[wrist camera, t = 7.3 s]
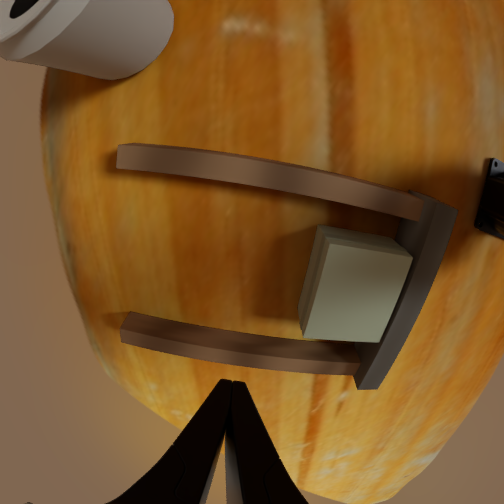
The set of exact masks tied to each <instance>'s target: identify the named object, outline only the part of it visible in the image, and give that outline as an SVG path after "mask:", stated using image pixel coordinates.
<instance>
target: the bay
mask: <svg viewBox="0 0 504 504" xmlns="http://www.w3.org/2000/svg"><path fill="white" fill-rule="evenodd" d="M116 168H119V169H130V170H140V171H150V172H159V173H168V174H176V175H184V176H192V177H199V178H206V179H213V180H220V181H227V182H233V183H240V184H246V185H252V186H258V187H264V188H269V189H275V190H281V191H286V192H291V193H296V194H302V195H307V196H312V197H317V198H321V199H326V200H331V201H336V202H340V203H345V204H349V205H354V206H358V207H362V208H366V209H371V210H375V211H379V212H383V213H387V214H391V215H395V216H399V217H401V221H400V224H399V227H398V231H397V234H396V237H395V240H394V241H395V242H397V243H398V244H399V245H400V246H401V247H404V248H405V249H406V250H407V252H408V253H409V254H410V255H411V256H412V257H413V259H412V262H411V265H410V268H409V271H408V274H407V276H406V279H405V282H404V284H403V287H402V290H401V292H400V295H399V297H398V300H397V302H396V305H395V307H394V309H393V312H392V314H391V317H390V319H389V321H388V323H387V326H386V328H385V330H384V332H383V335H382V337H381V339H380V341H379V342H356V341H355V344H354V345H349V344H336V343H324V342H313V341H303V340H294V339H285V338H277V337H269V336H262V335H254V334H247V333H240V332H234V331H227V330H221V329H215V328H209V327H204V326H198V325H192V324H187V323H182V322H177V321H172V320H167V319H162V318H157V317H152V316H148V315H143V314H139V313H134V312H130V313H129V314H128V316H127V318H126V319H125V321H124V322H123V324H122V326H121V327H120V335H121V342H122V343H126V344H130V345H134V346H138V347H142V348H147V349H151V350H155V351H160V352H164V353H169V354H174V355H179V356H184V357H189V358H194V359H200V360H205V361H211V362H217V363H224V364H230V365H237V366H244V367H252V368H260V369H268V370H278V371H288V372H300V373H313V374H330V375H353V377H354V380H355V383H356V387H357V390H370V389H378V388H379V386H380V384H381V383H382V381H383V380H384V378H385V376H386V375H387V373H388V371H389V370H390V368H391V366H392V364H393V363H394V361H395V359H396V357H397V356H398V354H399V352H400V350H401V348H402V347H403V345H404V343H405V341H406V339H407V337H408V335H409V333H410V331H411V329H412V327H413V325H414V323H415V321H416V319H417V317H418V315H419V313H420V311H421V309H422V307H423V304H424V302H425V300H426V298H427V295H428V293H429V291H430V288H431V286H432V284H433V281H434V279H435V276H436V274H437V271H438V269H439V266H440V264H441V261H442V258H443V256H444V253H445V250H446V247H447V244H448V242H449V239H450V236H451V233H452V229H453V226H454V223H455V220H456V217H457V213H458V210H457V209H455V208H453V207H451V206H449V205H447V204H445V203H443V202H441V201H439V200H436V199H434V198H432V197H430V196H427V195H424V194H421V193H418V192H415V191H412V190H409V192H408V193H407V192H404V191H400V190H397V189H394V188H390V187H387V186H383V185H380V184H376V183H372V182H368V181H365V180H361V179H357V178H353V177H349V176H345V175H341V174H337V173H332V172H328V171H324V170H319V169H315V168H310V167H305V166H300V165H295V164H290V163H285V162H280V161H275V160H269V159H263V158H258V157H252V156H245V155H239V154H232V153H226V152H218V151H211V150H203V149H195V148H186V147H176V146H166V145H155V144H142V143H129V144H121V145H118V151H117V163H116Z"/></svg>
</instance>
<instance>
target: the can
mask: <svg viewBox="0 0 504 504" xmlns="http://www.w3.org/2000/svg"><path fill="white" fill-rule="evenodd" d="M173 22H174V14H173V11H172V8H171V5H170V3H169V2H168V1H167V0H0V57H2V58H3V59H5V60H10V61H16V62H23V63H30V64H35V65H41V66H47V67H52V68H57V69H61V70H66V71H71V72H75V73H79V74H83V75H88V76H92V77H95V78H99V79H108V80H115V79H120V78H125V77H129V76H131V75H133V74H135V73H137V72H139V71H141V70H143V69H144V68H145V67H146V66H147V65H149V64H150V63H151V62H152V61H154V60H155V59H156V58H157V57H158V55H159V54H160V53H161V51H162V50H163V49H164V47H165V46H166V45H167V43H168V40H169V38H170V36H171V33H172V31H173Z"/></svg>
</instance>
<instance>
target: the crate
mask: <svg viewBox="0 0 504 504" xmlns="http://www.w3.org/2000/svg"><path fill="white" fill-rule="evenodd" d="M412 259H413V257H412V256H411V255H410V254H409V253H408V252H407V250H406V249H405V248H404V247H401V246H400V245H399V244H398V243H397V242H395V241H394V240H393V239H392V238H391V237H385V236H380V235H375V234H370V233H364V232H359V231H353V230H348V229H342V228H336V227H330V226H325V225H319V224H318V226H317V230H316V235H315V239H314V243H313V248H312V252H311V256H310V260H309V264H308V269H307V273H306V277H305V281H304V285H303V288H302V292H301V296H300V300H299V304H298V314H299V319H300V328H301V330H302V334H303V338H312V339H325V340H339V341H356V342H379V341H380V339H381V337H382V335H383V332H384V330H385V328H386V326H387V323H388V321H389V319H390V317H391V314H392V312H393V309H394V307H395V305H396V302H397V300H398V297H399V295H400V292H401V290H402V287H403V284H404V282H405V279H406V276H407V274H408V271H409V268H410V265H411V262H412Z"/></svg>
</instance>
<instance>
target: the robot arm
mask: <svg viewBox="0 0 504 504" xmlns="http://www.w3.org/2000/svg"><path fill="white" fill-rule="evenodd" d="M494 163H495V165H494ZM479 223H480V225H479ZM475 228H477V229H478V230H481V231H484V232H486V233H489V234H492V235H495V236H497V237H500V238H503V239H504V163H503V162H501V161H500V160H498V159H495V158H491V160H490V163H489V168H488V173H487V178H486V182H485V186H484V190H483V194H482V198H481V202H480V206H479V209H478V213H477V216H476V220H475ZM224 436H225V468H226V496H227V497H226V498H227V504H309V503H308V502H307V501H306V499H305V498H304V497H303V495H302V494H301V493H300V491H299V490H298V488H297V487H296V485H295V484H294V482H293V481H292V479H291V478H290V476H289V474H288V472H287V471H286V469H285V467H284V465H283V463H282V461H281V459H279V455H278V453H277V451H276V449H275V447H274V445H273V443H272V440H271V438H270V436H269V434H268V432H267V430H266V428H265V426H264V423H263V421H262V419H261V417H260V415H259V413H258V410H257V408H256V406H255V404H254V401H253V399H252V397H251V395H250V392H249V390H248V388H247V386H246V384H245V382H241V381H233V383H232V380H227V379H220V380H219V382H218V383H217V384H216V386H215V387H214V389H213V390H212V391H211V393H210V394H209V396H208V397H207V398H206V400H205V401H204V402H203V404H202V405H201V407H200V408H199V409H198V411H197V412H196V413H195V415H194V416H193V417H192V419H191V420H190V421H189V423H188V424H187V425H186V427H185V428H184V429H183V431H182V432H181V433H180V435H179V436H178V437H177V439H176V440H175V441H174V443H173V445H171V446H170V448H169V449H168V450H167V451H166V453H165V454H164V455H163V456H162V457H161V459H160V460H159V461H158V462H157V463H156V464H155V465H154V466H153V467H152V468H151V469H150V470H149V471H148V472H147V473H146V474H145V475H144V476H143V477H141V478H140V479H139V480H138V481H137V482H136V483H135V484H133V485H132V486H131V487H130V488H129V489H128V490H126V491H125V492H124V493H123V494H122V495H120V496H119V497H117V498H116V499H114V500H112V501H110V502H108V503H106V504H205V503H206V500H207V496H208V493H209V489H210V486H211V482H212V479H213V476H214V472H215V469H216V465H217V462H218V458H219V455H220V451H221V447H222V444H223V440H224ZM25 504H32V503H30V502H27V503H25Z"/></svg>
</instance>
